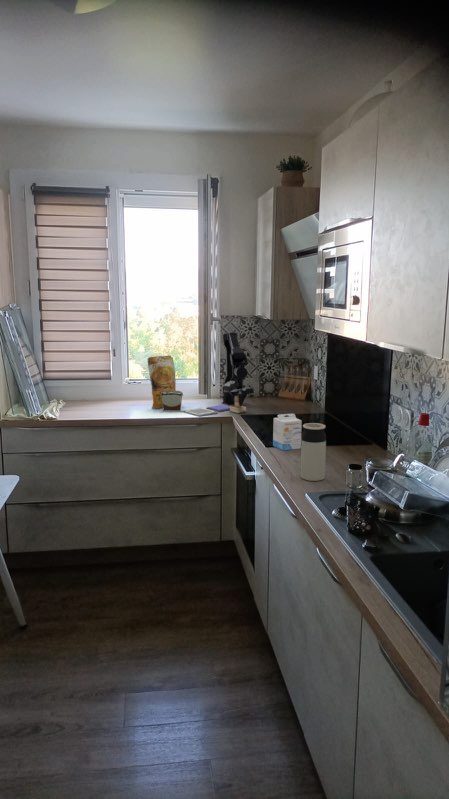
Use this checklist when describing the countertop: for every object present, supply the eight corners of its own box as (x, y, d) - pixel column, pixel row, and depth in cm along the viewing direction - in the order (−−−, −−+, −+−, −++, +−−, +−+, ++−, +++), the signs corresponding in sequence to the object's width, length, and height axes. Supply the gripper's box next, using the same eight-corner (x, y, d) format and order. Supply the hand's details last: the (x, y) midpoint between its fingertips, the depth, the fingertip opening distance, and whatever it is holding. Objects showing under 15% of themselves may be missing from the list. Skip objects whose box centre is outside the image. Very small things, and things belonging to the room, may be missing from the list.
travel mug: (316, 483, 179) (317, 429, 175) (296, 478, 184) (297, 425, 181) (329, 477, 184) (331, 425, 181) (309, 472, 190) (310, 421, 186)
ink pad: (221, 406, 304) (221, 404, 304) (234, 409, 296) (234, 407, 296) (206, 408, 297) (206, 407, 297) (219, 412, 289) (219, 410, 289)
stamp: (238, 410, 293) (238, 394, 291) (246, 412, 288) (246, 396, 287) (229, 412, 289) (229, 395, 287) (237, 413, 285) (237, 397, 283)
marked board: (200, 409, 297) (200, 407, 297) (217, 413, 286) (217, 411, 286) (182, 412, 290) (182, 410, 289) (199, 416, 278) (199, 415, 278)
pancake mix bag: (145, 407, 301) (143, 357, 296) (173, 403, 314) (172, 354, 308) (152, 409, 296) (151, 357, 291) (180, 404, 309) (179, 355, 304)
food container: (185, 408, 298) (185, 390, 296) (183, 411, 292) (183, 392, 290) (163, 408, 300) (162, 390, 298) (160, 410, 294) (160, 392, 292)
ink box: (282, 451, 216) (283, 417, 214) (272, 445, 224) (272, 413, 221) (301, 448, 219) (302, 415, 217) (290, 443, 227) (291, 411, 225)
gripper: (214, 375, 287) (214, 404, 290) (238, 379, 273) (238, 409, 276) (230, 373, 294) (230, 401, 297) (254, 377, 280) (254, 407, 283)
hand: (238, 405), depth 288 cm, fingers closed on stamp, 4 cm apart
